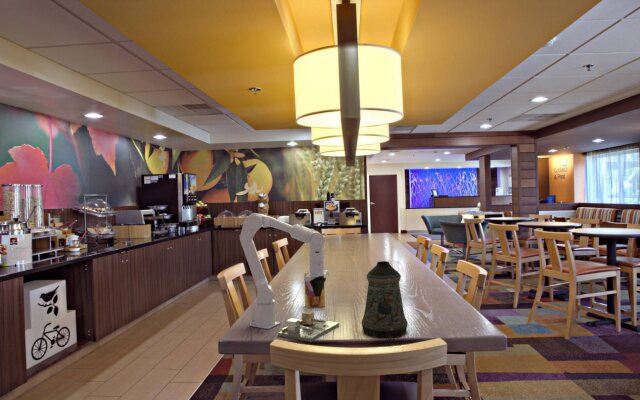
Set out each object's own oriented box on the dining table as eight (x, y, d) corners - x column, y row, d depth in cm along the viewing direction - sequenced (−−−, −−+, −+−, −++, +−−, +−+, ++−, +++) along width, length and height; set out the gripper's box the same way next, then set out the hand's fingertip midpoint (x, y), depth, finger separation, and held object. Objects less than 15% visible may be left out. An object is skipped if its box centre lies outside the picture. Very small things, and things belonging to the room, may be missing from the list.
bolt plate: (278, 335, 153) (277, 329, 153) (309, 320, 170) (308, 315, 170) (310, 342, 146) (310, 335, 146) (339, 325, 163) (339, 320, 163)
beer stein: (367, 340, 146) (364, 267, 145) (356, 323, 165) (354, 259, 165) (414, 337, 147) (411, 265, 147) (398, 320, 167) (396, 257, 166)
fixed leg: (287, 331, 154) (286, 320, 154) (292, 329, 157) (291, 318, 157) (309, 335, 149) (308, 324, 149) (314, 333, 152) (313, 321, 152)
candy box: (324, 304, 195) (323, 271, 195) (325, 306, 191) (324, 272, 191) (305, 305, 194) (303, 272, 194) (305, 308, 190) (304, 273, 190)
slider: (301, 323, 162) (301, 313, 162) (306, 321, 165) (306, 311, 165) (323, 327, 157) (323, 316, 157) (327, 324, 160) (327, 314, 160)
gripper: (315, 265, 160) (316, 301, 161) (334, 259, 173) (335, 293, 173) (299, 264, 164) (301, 299, 164) (320, 258, 176) (321, 291, 177)
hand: (317, 296), depth 169 cm, fingers closed
